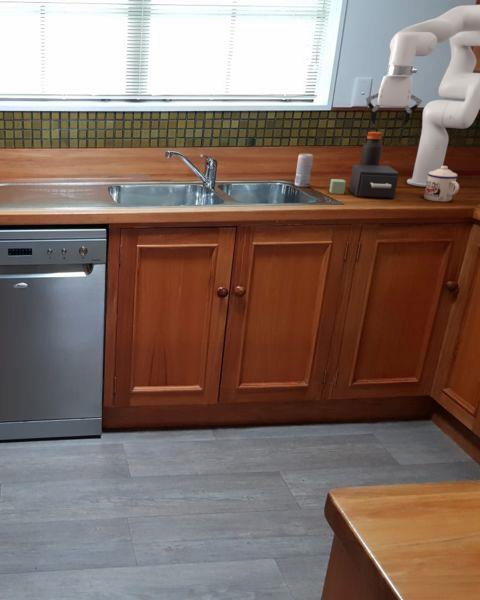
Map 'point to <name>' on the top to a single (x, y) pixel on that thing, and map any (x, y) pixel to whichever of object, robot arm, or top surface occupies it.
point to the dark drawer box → (368, 169)
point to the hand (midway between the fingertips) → (388, 124)
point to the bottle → (372, 149)
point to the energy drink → (303, 170)
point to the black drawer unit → (378, 185)
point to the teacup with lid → (441, 185)
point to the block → (337, 186)
